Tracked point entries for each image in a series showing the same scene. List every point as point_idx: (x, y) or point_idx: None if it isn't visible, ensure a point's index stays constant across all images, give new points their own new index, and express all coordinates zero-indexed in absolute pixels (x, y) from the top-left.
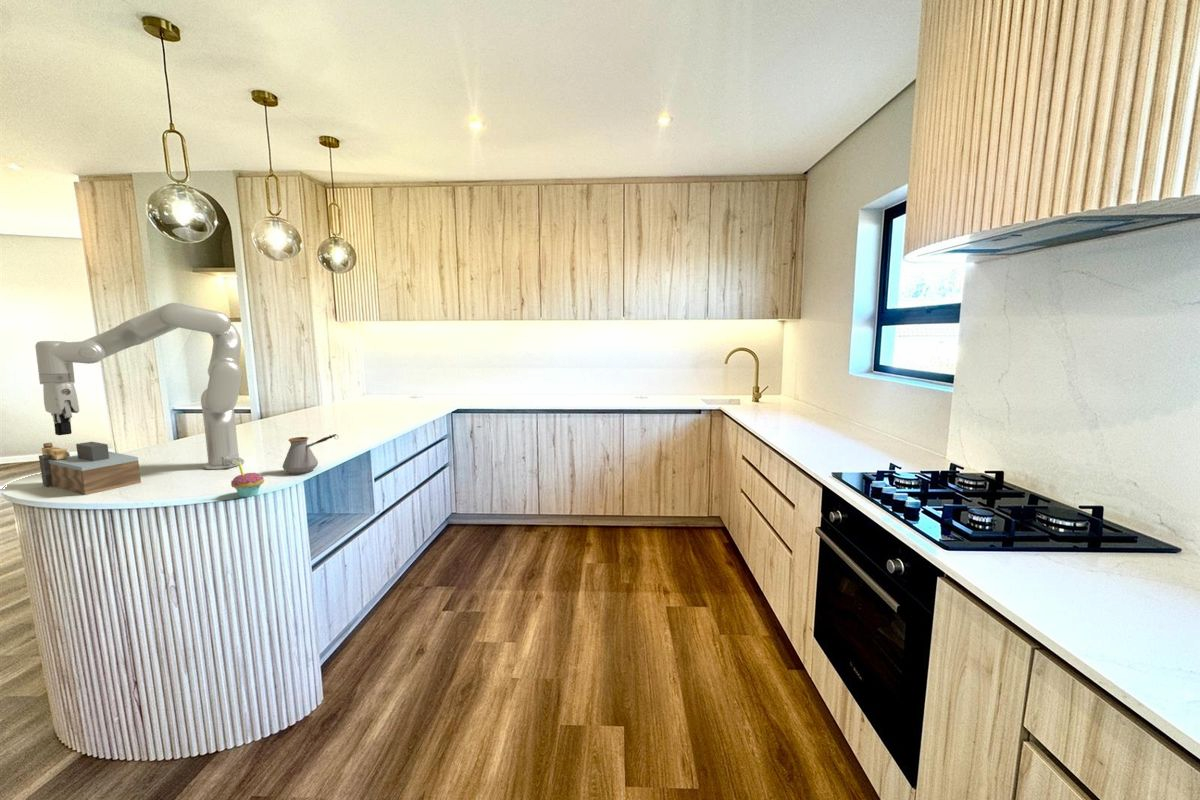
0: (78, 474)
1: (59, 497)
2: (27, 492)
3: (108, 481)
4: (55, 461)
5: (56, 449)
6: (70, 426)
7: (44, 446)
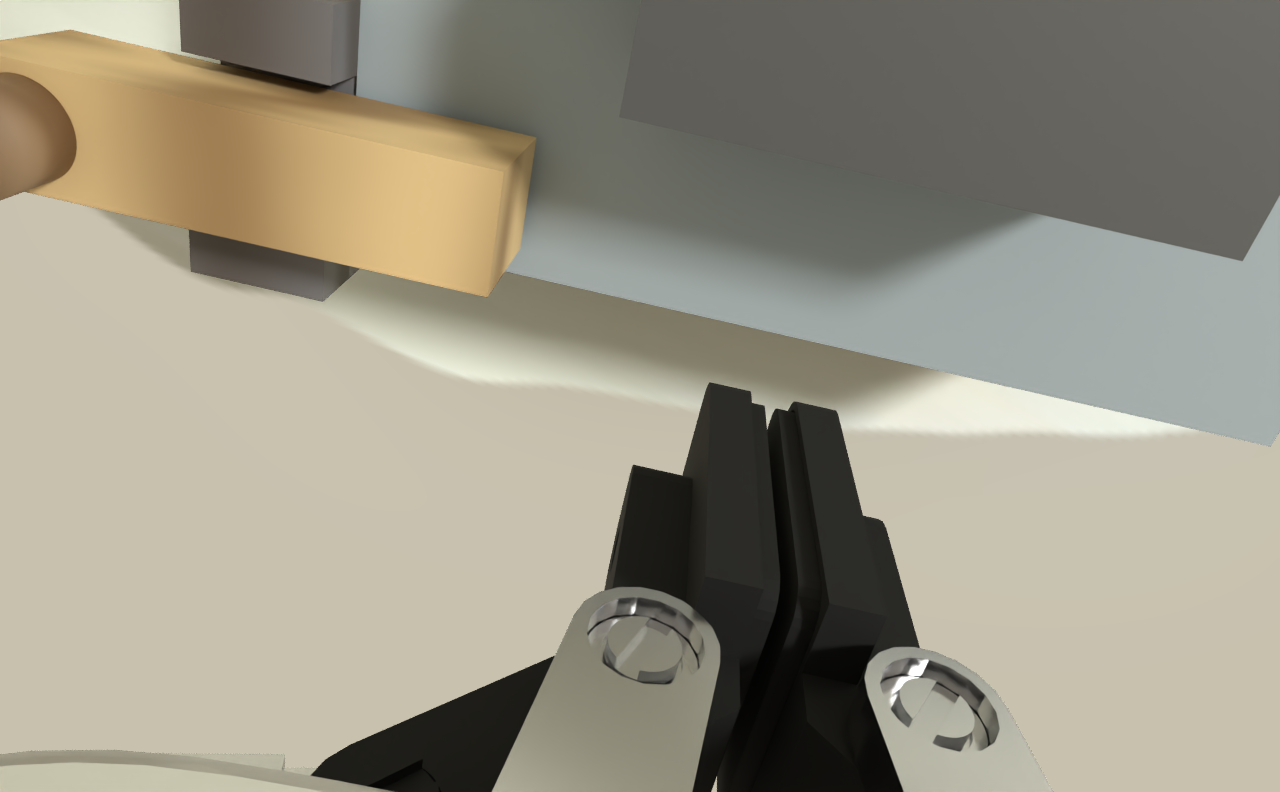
0: None
1: (940, 386)
2: (487, 329)
3: None
4: (557, 282)
5: (343, 207)
6: (855, 520)
7: (23, 190)
